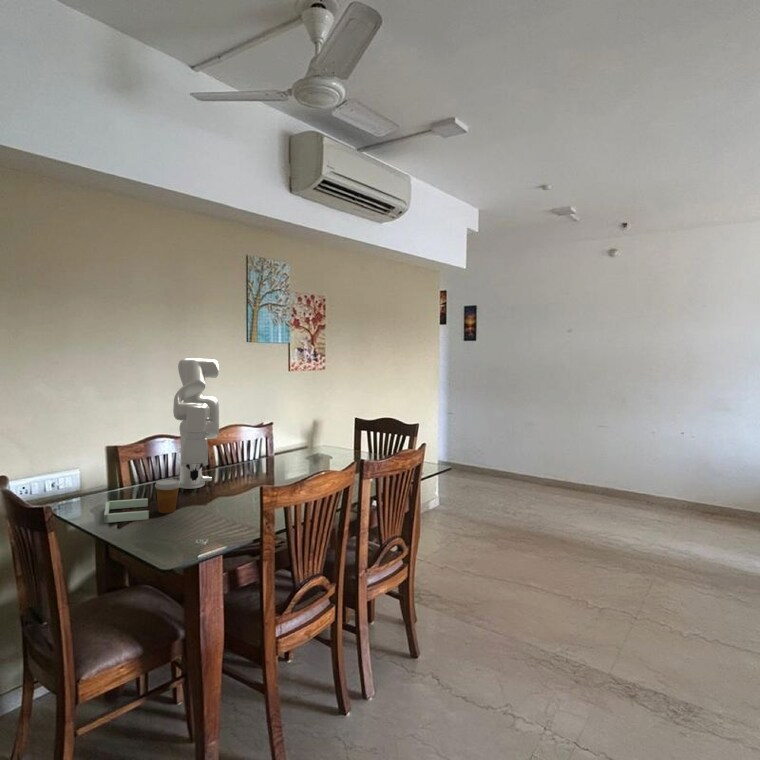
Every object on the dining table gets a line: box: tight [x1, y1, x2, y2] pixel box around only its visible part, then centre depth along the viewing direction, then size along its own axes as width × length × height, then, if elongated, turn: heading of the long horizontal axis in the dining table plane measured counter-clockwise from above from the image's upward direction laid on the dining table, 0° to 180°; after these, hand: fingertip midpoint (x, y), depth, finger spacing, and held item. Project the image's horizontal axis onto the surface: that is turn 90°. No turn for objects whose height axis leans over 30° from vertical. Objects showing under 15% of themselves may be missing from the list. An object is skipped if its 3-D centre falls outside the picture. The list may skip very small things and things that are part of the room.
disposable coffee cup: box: [154, 478, 180, 514], centre depth 211 cm, size 10×10×12 cm
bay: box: [103, 498, 150, 524], centre depth 205 cm, size 15×16×3 cm
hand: (194, 479), depth 214 cm, fingers closed
